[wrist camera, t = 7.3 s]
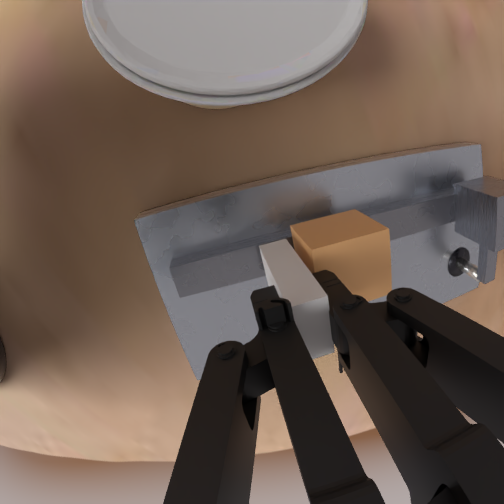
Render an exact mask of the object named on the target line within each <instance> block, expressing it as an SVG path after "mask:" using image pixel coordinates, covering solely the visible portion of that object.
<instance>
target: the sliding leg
mask: <svg viewBox="0 0 504 504" xmlns="http://www.w3.org/2000/svg"><path fill="white" fill-rule="evenodd" d="M290 228H291V234H292V239H293V244H294V249H295V252H296V253H297V254H298V256H299V257H300V258H301V260H302V261H303V263H304V264H305V265H306V267H307V268H308V269H309V271H310V272H311V273H315V272H319V271H322V270H328V271H331V272H333V273H334V274H335V275H336V276H337V277H338V279H340V280H341V282H342V283H343V284H344V285H345V286H346V287H347V289H348V290H349V291H350V292H351V293H352V294H353V295H359V296H362V297H363V298H365V299H366V300H367V301H371V300H374V299H377V298H380V297H383V296H386V295H387V294H388V293H389V292H390V291H391V290H392V274H391V250H390V234H389V228H387V227H385V226H384V225H382V224H380V223H379V222H377V221H375V220H373V219H372V218H370V217H368V216H366V215H365V214H363V213H361V212H359V211H357V210H356V209H353V210H349V211H345V212H341V213H337V214H333V215H329V216H325V217H321V218H317V219H313V220H309V221H305V222H301V223H297V224H293V225H290Z"/></svg>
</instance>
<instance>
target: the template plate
mask: <svg viewBox="0 0 504 504" xmlns="http://www.w3.org/2000/svg"><path fill="white" fill-rule="evenodd" d="M353 209H356V210H357V211H359V212H361V213H363V214H365V215H366V216H368V217H370V218H372V219H373V220H375V221H377V222H379V223H380V224H382V225H384V226H385V227H387V228H389V234H390V250H391V274H392V290H394V289H396V288H402V287H404V288H411V289H414V290H416V291H418V292H420V293H422V294H424V295H426V296H428V297H430V298H432V299H433V300H435V301H437V302H439V303H441V304H442V303H444V302H447V301H449V300H451V299H453V298H456V297H458V296H460V295H462V294H464V293H467V292H469V291H471V290H473V289H475V288H477V287H478V285H479V282H482V283H484V284H486V283H488V282H490V281H492V280H494V278H495V270H496V261H497V252H498V251H500V250H502V249H504V180H501V179H497V178H494V177H490V176H485V177H483V167H482V152H481V144H476V143H469V142H461V143H453V144H446V145H439V146H432V147H425V148H418V149H412V150H406V151H400V152H394V153H388V154H382V155H376V156H371V157H365V158H360V159H355V160H349V161H344V162H339V163H334V164H329V165H324V166H320V167H315V168H310V169H306V170H301V171H296V172H292V173H287V174H283V175H279V176H274V177H270V178H266V179H262V180H258V181H253V182H249V183H245V184H241V185H237V186H233V187H229V188H226V189H222V190H218V191H214V192H210V193H207V194H203V195H199V196H196V197H192V198H188V199H185V200H181V201H178V202H174V203H171V204H167V205H164V206H160V207H157V208H153V209H150V210H147V211H143V212H140V214H139V215H138V216H137V217H136V218H135V220H134V222H135V225H136V228H137V231H138V234H139V237H140V240H141V243H142V245H143V248H144V251H145V254H146V257H147V260H148V262H149V265H150V268H151V270H152V273H153V276H154V279H155V281H156V284H157V286H158V289H159V292H160V294H161V297H162V299H163V302H164V304H165V307H166V309H167V312H168V314H169V317H170V319H171V322H172V324H173V326H174V329H175V331H176V334H177V336H178V338H179V341H180V343H181V345H182V347H183V350H184V352H185V354H186V357H187V359H188V361H189V363H190V365H191V368H192V370H193V372H194V374H195V376H196V378H197V380H201V377H202V373H203V370H204V367H205V364H206V360H207V357H208V354H209V352H210V350H211V349H212V348H213V347H214V346H216V345H217V344H219V343H222V342H225V341H238V342H241V343H242V344H243V345H244V344H246V343H248V342H249V341H251V340H252V339H253V338H254V337H255V336H256V335H257V334H258V331H259V328H258V324H257V321H256V317H255V313H254V310H253V306H252V302H251V299H250V296H251V294H252V292H253V291H254V290H258V289H261V288H265V287H268V282H267V278H266V274H265V269H264V265H263V261H262V257H261V253H260V248H259V246H260V245H264V244H268V243H271V242H275V241H279V240H283V239H286V240H287V241H288V242H289V244H290V245H291V246H292V248H293V249H294V244H293V239H292V234H291V228H290V225H293V224H297V223H301V222H305V221H309V220H313V219H317V218H321V217H325V216H329V215H333V214H337V213H341V212H345V211H349V210H353ZM294 250H295V249H294ZM386 297H387V295H386V296H383V297H380V298H377V299H374V300H371V301H368V302H369V303H376V302H384V301H386ZM333 343H334V342H333Z"/></svg>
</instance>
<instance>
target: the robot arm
mask: <svg viewBox="0 0 504 504" xmlns="http://www.w3.org/2000/svg"><path fill="white" fill-rule="evenodd" d="M259 248H260V253H261V257H262V261H263V265H264V269H265V274H266V278H267V282H268V287H265V288H261V289H258V290H254V291H253V292H252V294H251V296H250V299H251V302H252V306H253V310H254V313H255V317H256V321H257V324H258V328H259V331H258V334H257V335H256V336H255V337H254V338H253V339H252V340H251V341H249V342H248V343H246V344H244V345H243V344H242V343H241V342H238V341H225V342H222V343H219V344H217V345H216V346H214V347H213V348H212V349H211V350H210V352H209V354H208V357H207V360H206V364H205V367H204V370H203V373H202V377H201V380H200V383H199V386H198V390H197V393H196V396H195V399H194V403H193V406H192V409H191V412H190V416H189V419H188V422H187V426H186V429H185V432H184V435H183V439H182V442H181V445H180V449H179V452H178V455H177V459H176V462H175V465H174V469H173V472H172V476H171V479H170V482H169V486H168V489H167V492H166V496H165V499H164V503H163V504H249V498H250V490H251V482H252V474H253V465H254V457H255V448H256V439H257V430H258V421H259V412H260V403H261V397H260V395H262V394H264V393H266V392H267V391H269V390H271V389H273V388H276V391H277V395H278V398H279V402H280V405H281V409H282V412H283V415H284V419H285V422H286V426H287V429H288V432H289V436H290V439H291V442H292V446H293V449H294V452H295V456H296V459H297V462H298V465H299V469H300V472H301V476H302V479H303V482H304V486H305V489H306V492H307V495H308V498H309V501H310V504H385V502H384V500H383V498H382V496H381V494H380V491H379V489H378V488H377V486H376V484H375V482H374V481H373V480H372V479H370V478H368V477H367V476H366V474H365V472H364V470H363V468H362V465H361V463H360V461H359V459H358V457H357V454H356V452H355V450H354V448H353V446H352V444H351V442H350V439H349V437H348V435H347V433H346V431H345V428H344V426H343V424H342V422H341V420H340V418H339V415H338V413H337V411H336V409H335V407H334V405H333V402H332V400H331V398H330V396H329V394H328V392H327V390H326V387H325V385H324V383H323V381H322V379H321V377H320V374H319V372H318V370H317V368H316V366H315V364H314V362H313V360H312V359H315V358H318V357H321V356H324V355H327V354H330V353H334V344H335V346H336V347H337V350H338V361H339V371H340V373H342V372H343V370H342V368H344V370H345V372H346V374H347V375H348V377H349V379H350V381H351V383H352V384H353V386H354V388H355V390H356V392H357V393H358V395H359V397H360V399H361V401H362V403H363V404H364V406H365V408H366V410H367V412H368V414H369V415H370V417H371V419H372V421H373V423H374V425H375V426H376V428H377V430H378V432H379V434H380V436H381V437H382V439H383V441H384V443H385V445H386V447H387V449H388V450H389V453H390V454H391V456H392V458H393V460H394V462H395V464H396V466H397V468H398V470H399V471H400V473H401V475H402V477H403V479H404V481H405V483H406V485H407V487H408V489H409V491H410V497H411V504H504V448H503V446H502V445H501V443H500V442H499V441H498V440H497V439H499V440H500V441H502V442H503V443H504V337H502V336H500V335H498V334H497V333H495V332H493V331H491V330H489V329H488V328H486V327H484V326H482V325H480V324H478V323H477V322H475V321H473V320H471V319H469V318H467V317H465V316H464V315H462V314H460V313H458V312H456V311H454V310H452V309H451V308H449V307H447V306H445V305H443V304H441V303H439V302H437V301H435V300H433V299H432V298H430V297H428V296H426V295H424V294H422V293H420V292H418V291H416V290H414V289H411V288H404V287H402V288H396V289H394V290H391V291H390V292H389V293H388V294H387V297H386V301H384V302H376V303H369V302H368V301H367V300H366V299H365V298H363V297H362V296H359V295H353V294H352V293H351V292H350V291H349V290H348V289H347V287H346V286H345V285H344V284H343V283H342V282H341V280H340V279H338V277H337V276H336V275H335V274H334V273H333V272H331V271H328V270H322V271H319V272H315V273H311V272H310V271H309V269H308V268H307V267H306V265H305V264H304V263H303V261H302V260H301V258H300V257H299V256H298V254H297V253H296V252H295V250H294V249H293V248H292V246H291V245H290V244H289V242H288V241H287V240H286V239H283V240H279V241H275V242H271V243H268V244H264V245H260V246H259ZM417 332H419V333H420V334H422V335H423V338H420V337H418V336H417ZM333 342H334V343H333ZM5 370H6V357H5V352H4V348H3V344H2V341H1V338H0V382H1V380H2V379H3V377H4V374H5ZM456 407H457V408H458V409H460V410H461V411H462V412H464V413H465V414H466V415H467V416H469V417H470V418H471V419H473V420H474V421H475V422H477V424H473V425H472V424H470V423H469V422H468V421H467V420H466V419H465V418H464V416H463V415H462V414H461V413H460V411H459V410H458V409H457V408H456Z"/></svg>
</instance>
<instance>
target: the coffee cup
mask: <svg viewBox="0 0 504 504" xmlns="http://www.w3.org/2000/svg"><path fill="white" fill-rule="evenodd" d="M367 6H368V0H82V7H83V16H84V21H85V25H86V28H87V31H88V34H89V36H90V38H91V40H92V42H93V43H94V45H95V47H96V49H97V50H98V51H99V53H100V54H101V55H102V57H103V58H104V59H105V60H106V61H107V62H108V63H109V64H110V65H111V66H112V67H113V68H114V69H115V70H116V71H117V72H118V73H120V74H121V75H122V76H124V77H125V78H126V79H128V80H129V81H131V82H133V83H134V84H136V85H138V86H139V87H141V88H144V89H146V90H148V91H150V92H152V93H154V94H157V95H160V96H163V97H166V98H169V99H173V100H177V101H181V102H184V103H187V104H189V105H192V106H195V107H199V108H205V109H226V108H232V107H236V106H240V105H247V104H255V103H260V102H265V101H270V100H273V99H277V98H280V97H284V96H286V95H289V94H291V93H294V92H297V91H299V90H301V89H303V88H305V87H307V86H309V85H311V84H313V83H314V82H316V81H317V80H319V79H320V78H322V77H323V76H325V75H326V74H327V73H329V72H330V71H331V70H332V69H333V68H335V67H336V66H337V65H338V64H339V63H340V62H341V61H342V60H343V59H344V58H345V57H346V55H347V54H348V53H349V52H350V50H351V49H352V48H353V46H354V45H355V43H356V41H357V39H358V37H359V36H360V34H361V31H362V28H363V26H364V23H365V19H366V14H367Z"/></svg>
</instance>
